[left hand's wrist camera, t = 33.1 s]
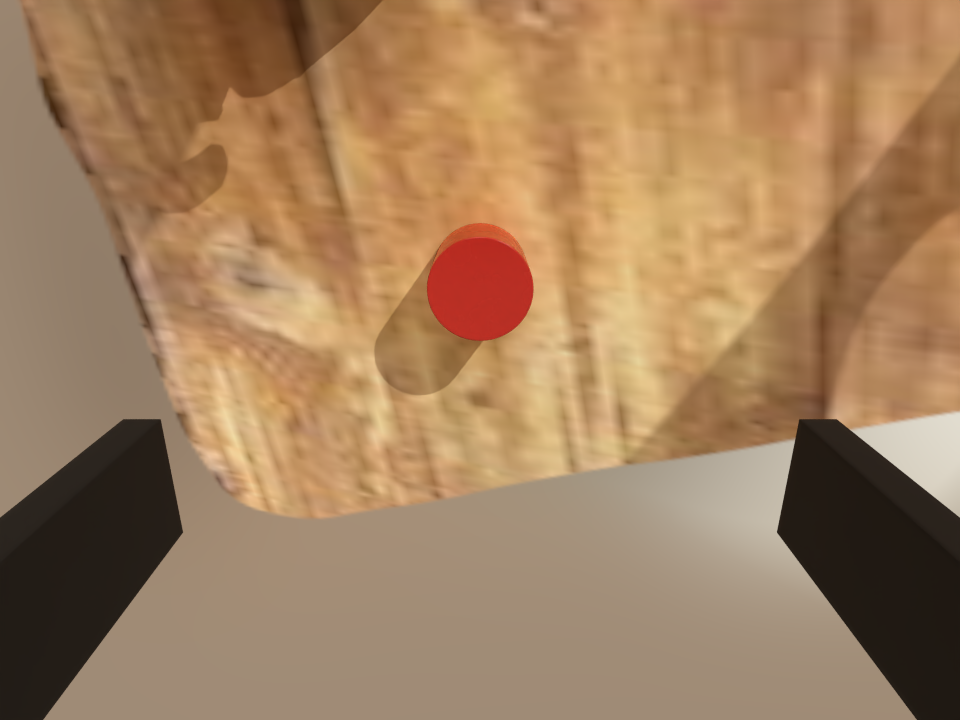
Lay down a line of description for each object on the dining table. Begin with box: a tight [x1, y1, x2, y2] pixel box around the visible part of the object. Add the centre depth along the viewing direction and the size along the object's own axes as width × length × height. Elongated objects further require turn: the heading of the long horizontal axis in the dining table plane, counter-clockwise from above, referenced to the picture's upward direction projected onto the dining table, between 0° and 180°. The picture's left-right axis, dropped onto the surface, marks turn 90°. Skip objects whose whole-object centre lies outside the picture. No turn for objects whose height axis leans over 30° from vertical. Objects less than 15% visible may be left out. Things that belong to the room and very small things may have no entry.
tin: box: [427, 223, 533, 341], centre depth 30 cm, size 5×5×4 cm
